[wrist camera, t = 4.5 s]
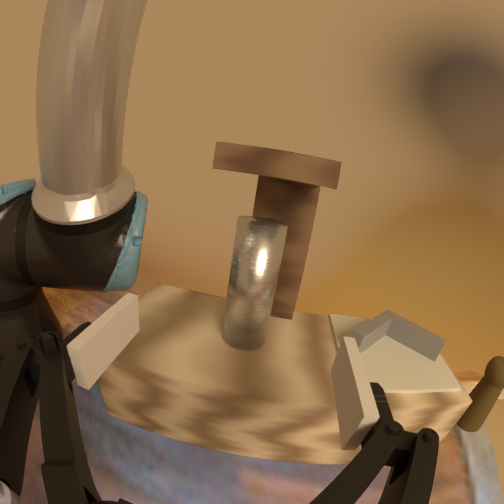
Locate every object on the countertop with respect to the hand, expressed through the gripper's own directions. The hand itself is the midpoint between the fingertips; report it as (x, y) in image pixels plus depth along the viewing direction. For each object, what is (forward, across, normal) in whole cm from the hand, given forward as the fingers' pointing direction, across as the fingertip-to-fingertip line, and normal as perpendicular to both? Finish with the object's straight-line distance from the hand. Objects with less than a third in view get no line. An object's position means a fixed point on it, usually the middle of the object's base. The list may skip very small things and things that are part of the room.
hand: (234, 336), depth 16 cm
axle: (+10, 0, -7) cm, 12 cm away
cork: (+8, +36, -17) cm, 40 cm away
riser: (+10, +6, -17) cm, 20 cm away
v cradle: (+10, +17, -7) cm, 21 cm away
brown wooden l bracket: (+12, +1, -7) cm, 13 cm away
